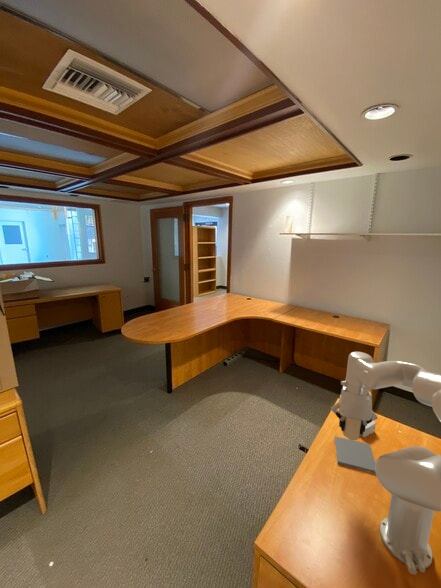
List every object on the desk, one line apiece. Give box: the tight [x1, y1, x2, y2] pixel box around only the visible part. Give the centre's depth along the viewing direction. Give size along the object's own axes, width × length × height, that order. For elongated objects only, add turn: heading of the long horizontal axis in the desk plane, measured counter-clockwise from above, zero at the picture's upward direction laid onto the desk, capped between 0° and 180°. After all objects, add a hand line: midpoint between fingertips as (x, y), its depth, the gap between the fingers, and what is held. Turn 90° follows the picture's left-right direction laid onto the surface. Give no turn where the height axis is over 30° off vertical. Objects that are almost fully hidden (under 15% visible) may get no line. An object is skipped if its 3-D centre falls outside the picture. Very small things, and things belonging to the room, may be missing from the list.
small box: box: [361, 420, 377, 438], centre depth 118 cm, size 8×8×5 cm
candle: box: [342, 417, 362, 441], centre depth 92 cm, size 6×6×10 cm
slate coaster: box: [334, 435, 376, 475], centre depth 105 cm, size 14×14×1 cm
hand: (351, 429), depth 92 cm, fingers closed on candle, 5 cm apart
